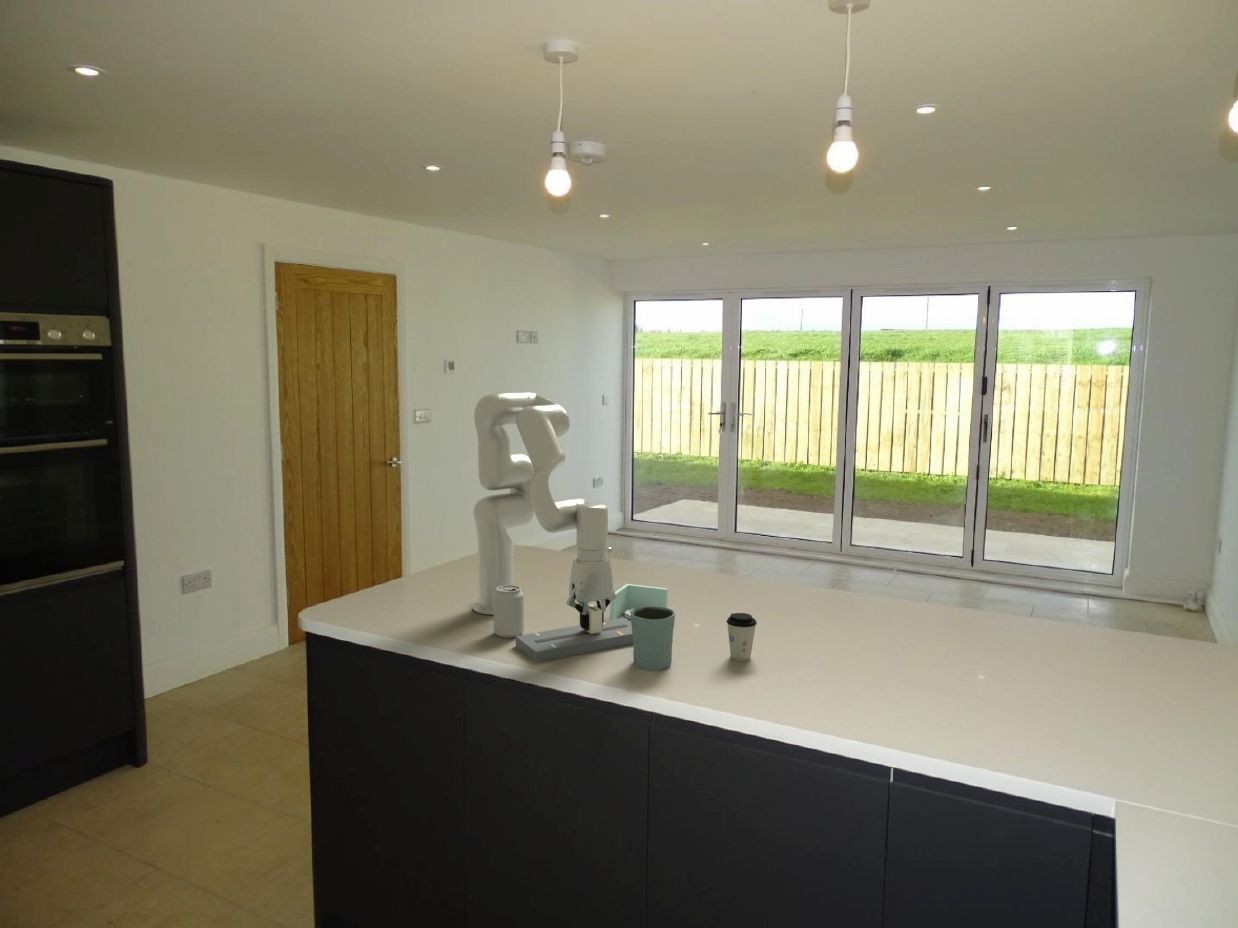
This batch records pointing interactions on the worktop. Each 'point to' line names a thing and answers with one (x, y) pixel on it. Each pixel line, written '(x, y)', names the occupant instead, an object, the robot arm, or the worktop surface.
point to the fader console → (574, 640)
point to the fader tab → (594, 619)
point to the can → (508, 611)
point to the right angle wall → (637, 599)
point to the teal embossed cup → (652, 637)
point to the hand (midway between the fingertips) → (591, 626)
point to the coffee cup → (741, 635)
